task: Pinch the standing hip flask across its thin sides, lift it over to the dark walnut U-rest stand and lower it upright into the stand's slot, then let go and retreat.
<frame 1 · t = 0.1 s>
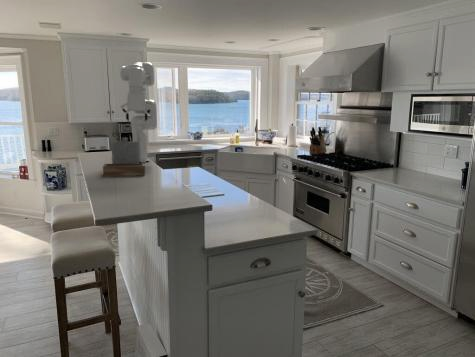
hand: (136, 121, 213), 31 cm above the worktop, tool pointing down, fingers open, 9 cm apart
hip flask: (126, 170, 232), on the worktop
u rest: (124, 174, 220), on the worktop
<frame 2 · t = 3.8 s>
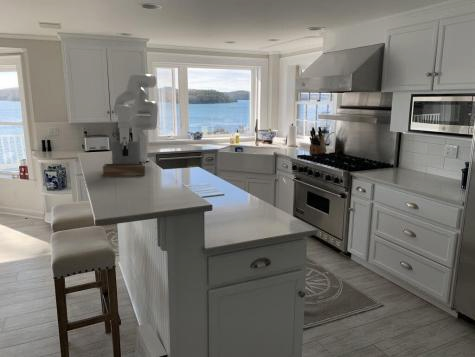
hand: (125, 154, 230), 9 cm above the worktop, tool pointing down, fingers closed on hip flask, 4 cm apart
hip flask: (126, 170, 232), on the worktop, touching gripper
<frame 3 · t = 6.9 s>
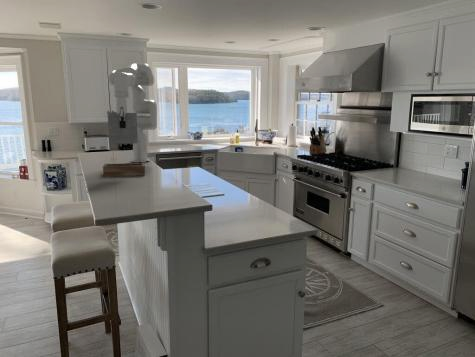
hand: (123, 127, 214), 27 cm above the worktop, tool pointing down, fingers closed on hip flask, 4 cm apart
hip flask: (123, 143, 216), point 18 cm above the worktop, touching gripper
when the fingers open (13 cm above the worktop, at t = 10.0 s): hip flask drops 2 cm, resting on u rest.
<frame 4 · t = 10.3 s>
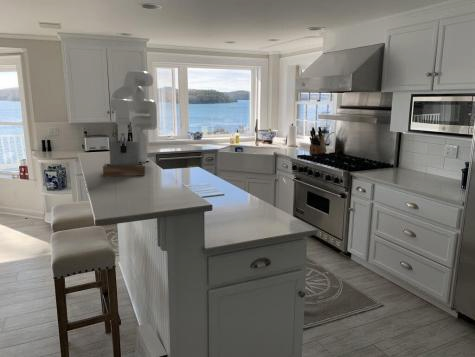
hand: (124, 151, 217), 13 cm above the worktop, tool pointing down, fingers open, 7 cm apart
hip flask: (124, 171, 219), point 1 cm above the worktop, touching u rest
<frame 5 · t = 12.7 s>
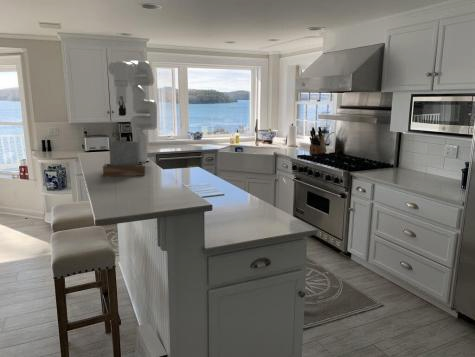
hand: (122, 115, 212), 34 cm above the worktop, tool pointing down, fingers open, 9 cm apart
nothing on the worktop moved.
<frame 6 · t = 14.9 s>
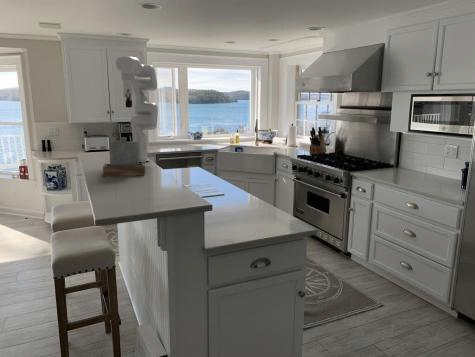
hand: (129, 107, 226), 38 cm above the worktop, tool pointing down, fingers open, 9 cm apart
nothing on the worktop moved.
at the end: hip flask 0.1 cm off-centre on the u rest, point 1.3 cm above the u rest's base; hip flask tilted 0°; the gripper is holding nothing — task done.
